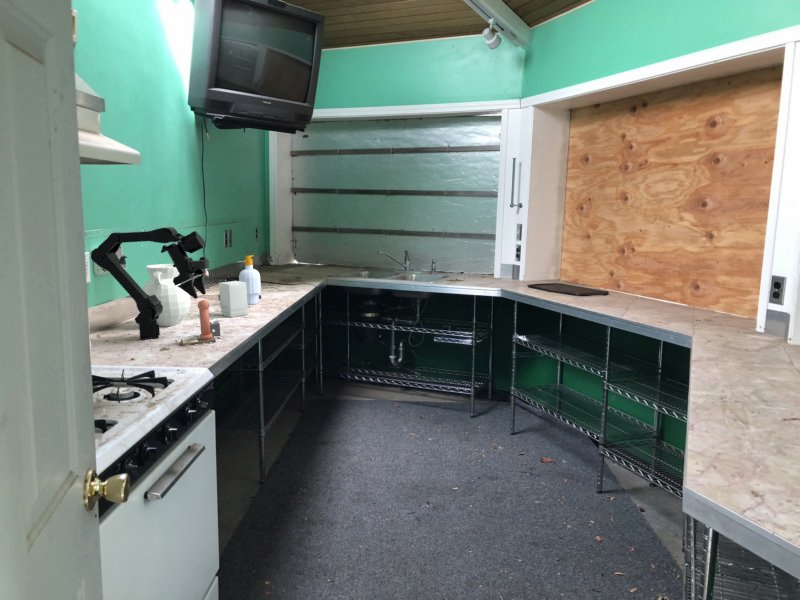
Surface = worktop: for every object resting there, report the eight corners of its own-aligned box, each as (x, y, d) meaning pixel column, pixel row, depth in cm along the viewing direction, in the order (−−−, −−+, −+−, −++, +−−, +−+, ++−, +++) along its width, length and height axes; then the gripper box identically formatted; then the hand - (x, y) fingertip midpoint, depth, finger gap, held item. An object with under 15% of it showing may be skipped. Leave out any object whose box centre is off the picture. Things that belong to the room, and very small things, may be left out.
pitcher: (182, 328, 220) (176, 267, 215) (136, 329, 220) (130, 268, 215) (198, 319, 238) (194, 262, 234) (156, 319, 238) (151, 263, 234)
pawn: (200, 340, 196) (197, 301, 193) (199, 337, 200) (196, 299, 197) (213, 338, 198) (210, 300, 195) (211, 336, 201) (208, 298, 199)
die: (206, 338, 203) (205, 323, 202) (205, 335, 208) (204, 321, 207) (220, 336, 206) (219, 322, 205) (218, 333, 211) (217, 319, 210)
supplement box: (249, 314, 246) (246, 282, 244) (231, 317, 240) (228, 284, 237) (238, 312, 252) (236, 280, 250) (220, 315, 246) (218, 282, 243)
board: (182, 346, 192) (182, 343, 192) (181, 341, 199) (180, 338, 198) (215, 342, 197) (215, 339, 196) (213, 338, 203) (212, 335, 203)
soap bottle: (266, 302, 275) (263, 255, 271) (250, 306, 266) (247, 257, 262) (251, 301, 280) (248, 254, 276) (236, 304, 272) (233, 256, 268)
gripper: (191, 252, 192) (212, 291, 194) (207, 247, 210) (226, 283, 213) (163, 265, 192) (184, 304, 195) (182, 259, 210) (201, 295, 213)
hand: (200, 296), depth 204 cm, fingers open, 9 cm apart
